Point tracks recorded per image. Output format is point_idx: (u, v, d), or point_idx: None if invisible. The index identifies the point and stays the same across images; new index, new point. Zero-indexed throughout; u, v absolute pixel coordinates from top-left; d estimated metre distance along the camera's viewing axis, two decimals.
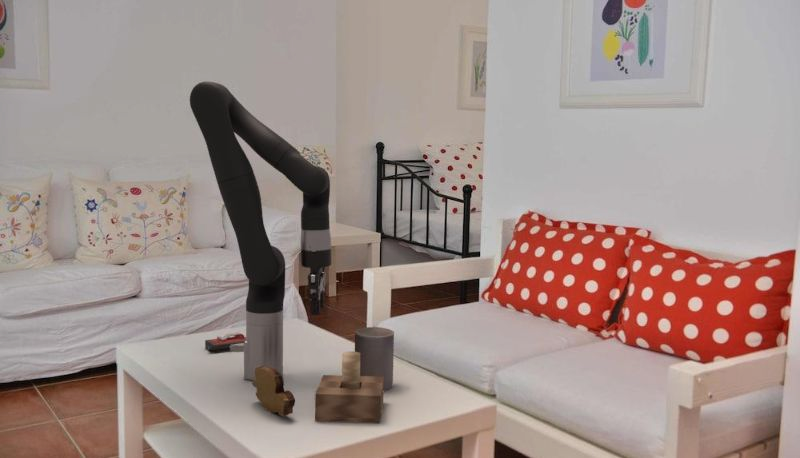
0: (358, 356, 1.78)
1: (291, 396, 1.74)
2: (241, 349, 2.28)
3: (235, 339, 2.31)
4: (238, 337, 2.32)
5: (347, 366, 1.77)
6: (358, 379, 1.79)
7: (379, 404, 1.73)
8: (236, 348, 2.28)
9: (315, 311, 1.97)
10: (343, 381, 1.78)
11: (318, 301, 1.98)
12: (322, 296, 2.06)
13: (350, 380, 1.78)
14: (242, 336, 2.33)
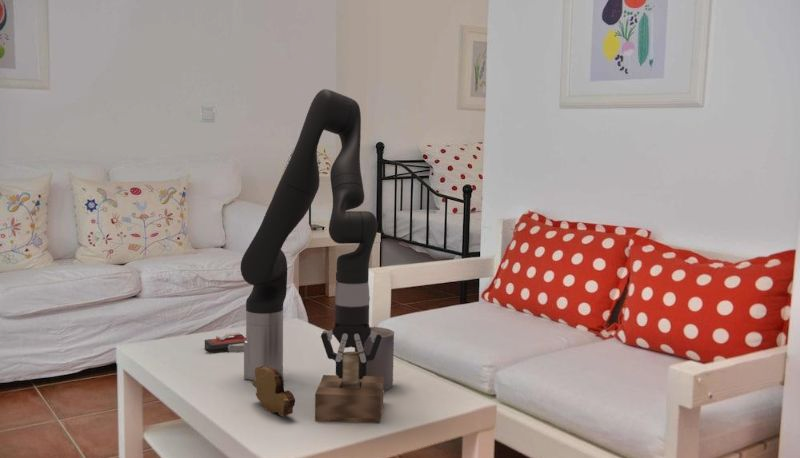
0: (358, 356, 1.78)
1: (291, 396, 1.74)
2: (239, 350, 2.28)
3: (234, 339, 2.31)
4: (237, 337, 2.31)
5: (347, 366, 1.77)
6: (358, 379, 1.79)
7: (379, 404, 1.73)
8: (234, 349, 2.27)
9: (365, 373, 1.80)
10: (343, 381, 1.78)
11: None
12: None
13: (350, 380, 1.78)
14: (241, 336, 2.32)
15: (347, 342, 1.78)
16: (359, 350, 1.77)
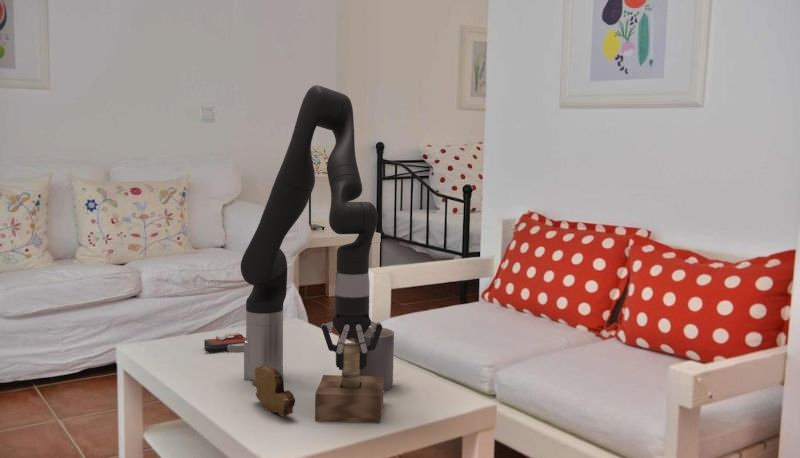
0: (358, 347, 1.78)
1: (291, 396, 1.74)
2: (238, 350, 2.27)
3: (234, 339, 2.31)
4: (237, 337, 2.31)
5: (347, 358, 1.77)
6: (358, 370, 1.78)
7: (379, 404, 1.73)
8: (234, 349, 2.27)
9: None
10: (343, 372, 1.78)
11: None
12: None
13: (350, 371, 1.77)
14: (241, 336, 2.32)
15: (348, 333, 1.77)
16: (361, 340, 1.77)
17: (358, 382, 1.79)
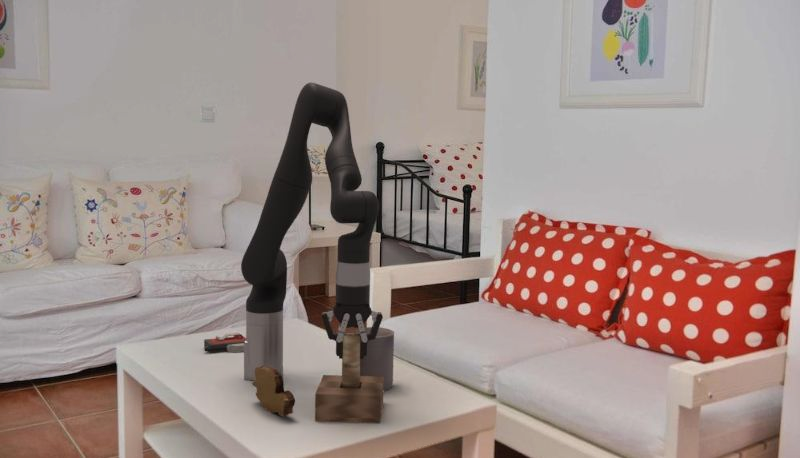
0: (358, 337, 1.77)
1: (291, 396, 1.74)
2: (237, 350, 2.27)
3: (233, 339, 2.31)
4: (237, 337, 2.31)
5: (347, 347, 1.77)
6: (358, 360, 1.78)
7: (379, 404, 1.73)
8: (233, 349, 2.27)
9: None
10: (343, 362, 1.78)
11: None
12: None
13: (350, 361, 1.77)
14: (241, 336, 2.32)
15: (348, 322, 1.77)
16: (361, 329, 1.77)
17: (358, 372, 1.79)
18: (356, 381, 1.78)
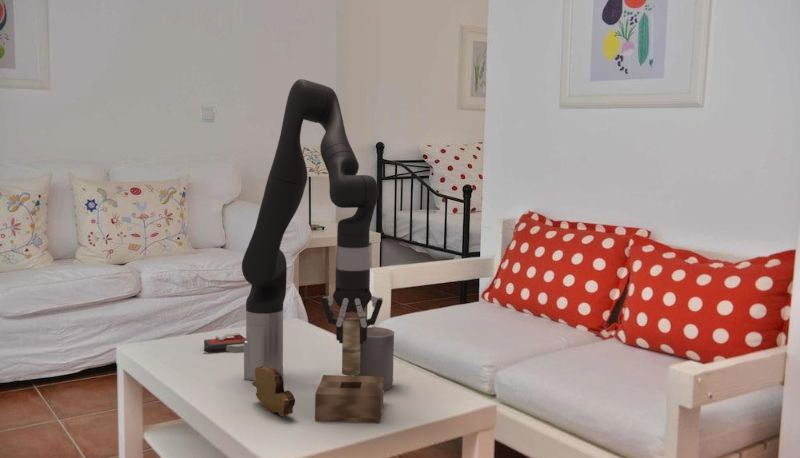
0: (359, 322, 1.77)
1: (291, 396, 1.74)
2: (237, 350, 2.27)
3: (233, 340, 2.30)
4: (236, 338, 2.31)
5: (347, 332, 1.77)
6: (359, 345, 1.78)
7: (379, 404, 1.73)
8: (232, 349, 2.27)
9: None
10: (343, 347, 1.78)
11: None
12: None
13: (350, 346, 1.77)
14: (241, 337, 2.31)
15: (348, 307, 1.77)
16: (360, 314, 1.77)
17: (358, 357, 1.78)
18: (357, 366, 1.78)
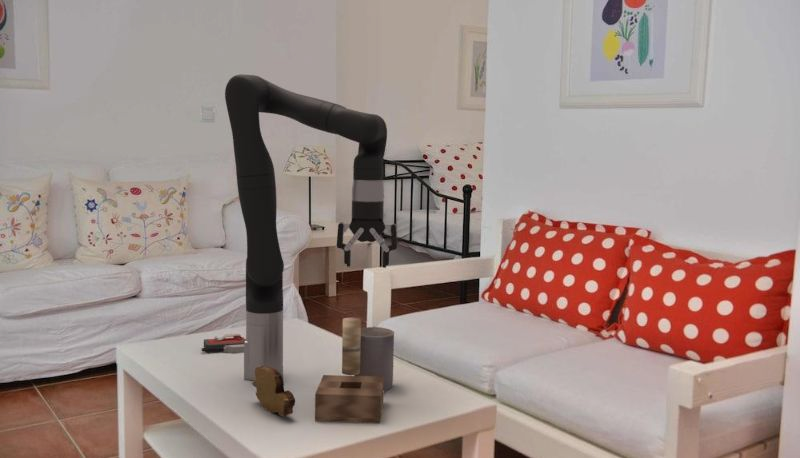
0: (359, 322, 1.77)
1: (291, 396, 1.74)
2: (234, 351, 2.26)
3: (232, 340, 2.30)
4: (235, 338, 2.30)
5: (347, 332, 1.77)
6: (359, 344, 1.78)
7: (379, 404, 1.73)
8: (230, 350, 2.26)
9: (388, 262, 1.93)
10: (343, 347, 1.78)
11: None
12: (350, 253, 1.94)
13: (350, 345, 1.77)
14: (240, 338, 2.31)
15: (360, 236, 1.91)
16: (379, 241, 1.90)
17: (358, 357, 1.78)
18: (357, 366, 1.78)
